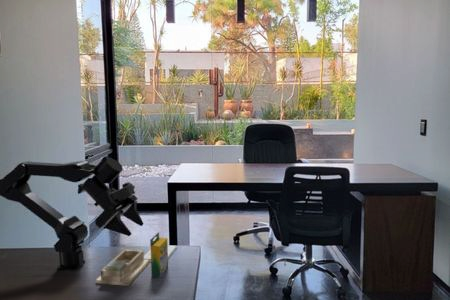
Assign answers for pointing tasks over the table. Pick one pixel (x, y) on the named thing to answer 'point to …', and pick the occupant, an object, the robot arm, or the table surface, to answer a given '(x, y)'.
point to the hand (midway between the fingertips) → (136, 229)
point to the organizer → (123, 268)
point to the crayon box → (158, 256)
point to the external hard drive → (170, 251)
